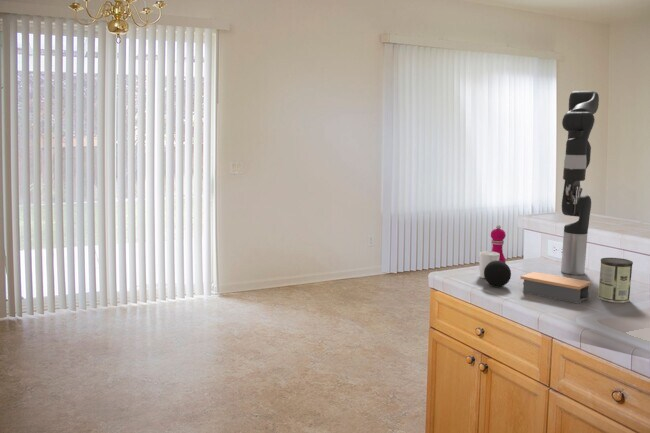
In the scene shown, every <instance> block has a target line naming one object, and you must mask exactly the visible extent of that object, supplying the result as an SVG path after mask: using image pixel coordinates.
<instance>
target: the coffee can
mask: <svg viewBox="0 0 650 433" xmlns="http://www.w3.org/2000/svg"><path fill="white" fill-rule="evenodd" d="M633 263H634V262H633V260H630V259H627V258H619V257H602V258H600V272H599V280H598V281H599V284H598V293H597V294H598V295H597V298H598V299H600V300H601V301H605V302H608V303H617V304H623V303H625V304H626V303H628V302H630V298H631V297H630V294H631V284H632V283H631V282H632V274H633Z"/></svg>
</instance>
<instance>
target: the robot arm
mask: <svg viewBox="0 0 650 433" xmlns="http://www.w3.org/2000/svg"><path fill="white" fill-rule="evenodd" d="M599 96H600V95H599V94H598V92H597V91H595V90H581V91H580V90H573V91H571V93H570V95H569V97H568V111H567V112H566V113H565V114H564V116H563V118H562V120H561V121H562V122H561V124H562V127H563V129H564V130H565V131H567V141H566V142H565V143H566V144H565V156H564V160H563V161H564V162H563V171H562V172H563V174H562V175H563V176H562V179H563V180H564V183H563V184H564V186H563V192H562V199H561V211H562V212H561V213H562V214H563V215H564V216H569V217H578V220H577V221H575V222H572V223H567V224H565V225H564V226H563V227H564V228H563V239H562V252H561V266H560V272H561V273H563V274H567V275H575V276H579V275H580V276H581V275H585V269H586V257H587V256H586V255H587V244H588V232H589V226H590V218H591V217H590V216H591V210H592V209H591V208H592V199H591V196H589V195H588V194H582V193H583V188H582V187H581V182H583V181H585V180H586V172H587V169H588V167H589V165H590V163H591V152H592V145H591V143H590V141H589V137H590V135H591V132H592V130H593V127H594V124H595V116H594V115H595V114H596V113H597V112H598V108H599V103H600V97H599Z"/></svg>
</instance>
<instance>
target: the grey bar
mask: <svg viewBox="0 0 650 433" xmlns="http://www.w3.org/2000/svg"><path fill="white" fill-rule="evenodd" d="M522 284H523V286H524V281H523V282H522ZM580 297H582V298H587V297H588V298H589V296H588V292H586V291H580ZM588 298H587V299H588Z"/></svg>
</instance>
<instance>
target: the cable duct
mask: <svg viewBox="0 0 650 433" xmlns="http://www.w3.org/2000/svg"><path fill="white" fill-rule="evenodd" d="M523 282H524V285H523V289H522V293H525V294H530V295H534V296H539V297H545V298H550V299H555V300H559V301H564V302H568V303H569V302H570V303H575V304H580V303H583V301H585V300H587V299H589V296H590V295H589V293H590V285H589V286H586V287H584V288H582V289H580V290H578V289H572V288H567V287H562V286H556V285H551V284H546V283H540V282H535V281H529V280H524V279H523ZM580 291H586V292H588V297H587V298H582V297H580Z"/></svg>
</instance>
